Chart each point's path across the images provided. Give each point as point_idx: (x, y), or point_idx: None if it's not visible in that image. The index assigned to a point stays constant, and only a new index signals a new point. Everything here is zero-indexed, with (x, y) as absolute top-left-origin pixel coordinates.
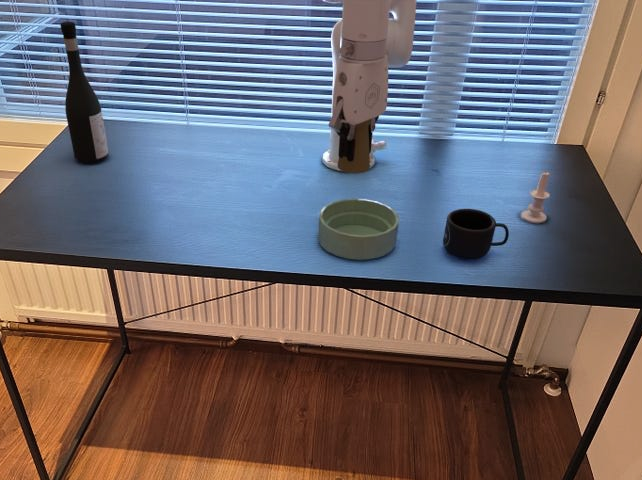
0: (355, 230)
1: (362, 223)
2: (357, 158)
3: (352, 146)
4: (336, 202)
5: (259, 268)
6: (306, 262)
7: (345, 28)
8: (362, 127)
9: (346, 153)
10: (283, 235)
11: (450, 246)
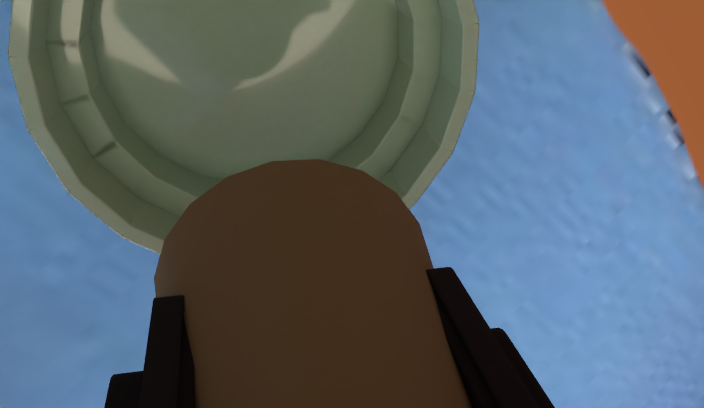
0: (195, 107)
1: (125, 126)
2: (403, 257)
3: (504, 361)
4: None
5: (670, 150)
6: (536, 66)
7: None
8: None
9: (509, 340)
10: None
11: None
